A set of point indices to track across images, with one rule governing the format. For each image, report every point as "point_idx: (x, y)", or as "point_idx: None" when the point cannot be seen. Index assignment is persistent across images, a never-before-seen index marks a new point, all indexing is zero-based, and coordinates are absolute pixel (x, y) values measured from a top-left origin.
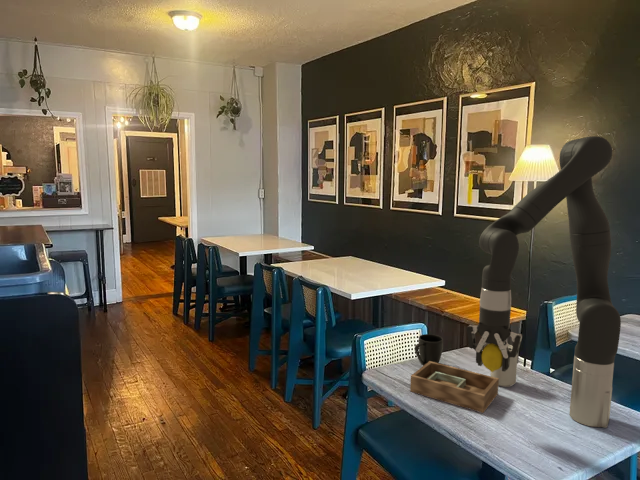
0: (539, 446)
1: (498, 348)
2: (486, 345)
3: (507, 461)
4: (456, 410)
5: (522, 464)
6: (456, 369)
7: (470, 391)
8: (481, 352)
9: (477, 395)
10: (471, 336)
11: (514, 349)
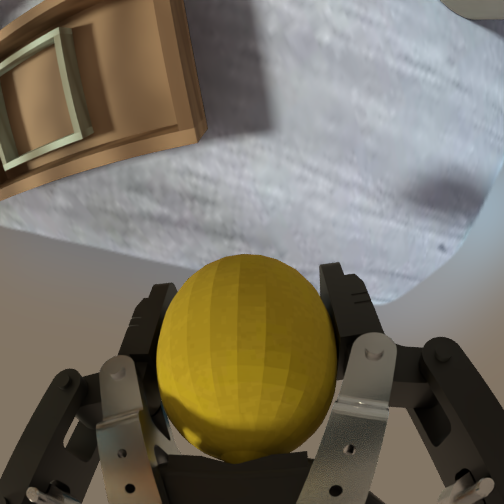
0: (402, 196)
1: (305, 440)
2: (189, 441)
3: None
4: (141, 177)
5: (380, 284)
6: (10, 34)
7: (138, 148)
8: None
9: (171, 147)
10: (85, 488)
11: (441, 438)
